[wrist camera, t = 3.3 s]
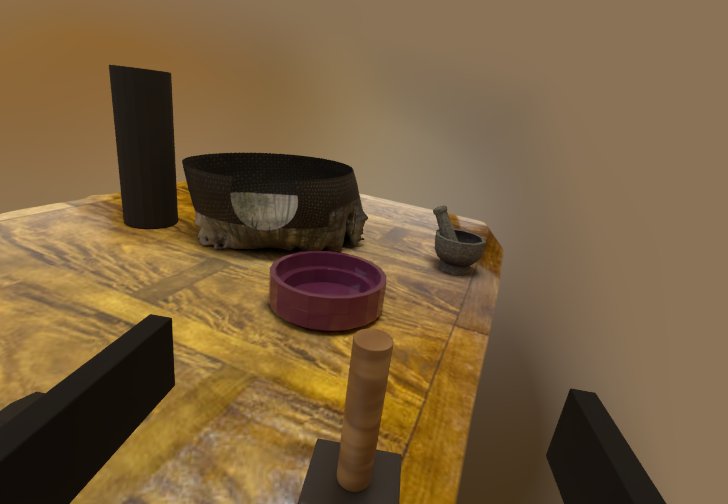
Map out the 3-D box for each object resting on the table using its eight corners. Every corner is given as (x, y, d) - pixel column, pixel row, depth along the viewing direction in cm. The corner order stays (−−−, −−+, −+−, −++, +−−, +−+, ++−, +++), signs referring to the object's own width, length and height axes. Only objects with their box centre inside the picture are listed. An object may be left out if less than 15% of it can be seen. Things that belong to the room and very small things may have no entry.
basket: (343, 281, 68) (353, 187, 63) (157, 247, 73) (151, 156, 68) (371, 235, 95) (380, 166, 89) (233, 212, 99) (233, 145, 94)
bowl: (395, 298, 65) (400, 266, 63) (356, 349, 50) (361, 310, 48) (304, 273, 70) (306, 243, 68) (244, 313, 55) (245, 276, 53)
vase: (159, 231, 81) (148, 69, 70) (112, 224, 81) (95, 62, 71) (187, 219, 90) (181, 74, 80) (145, 212, 91) (134, 68, 81)
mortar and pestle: (483, 269, 82) (497, 212, 78) (472, 283, 74) (486, 221, 70) (432, 254, 87) (442, 200, 83) (415, 266, 79) (426, 207, 75)
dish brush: (392, 498, 31) (426, 325, 26) (388, 572, 26) (428, 376, 21) (313, 482, 32) (330, 309, 27) (293, 552, 27) (309, 355, 22)
